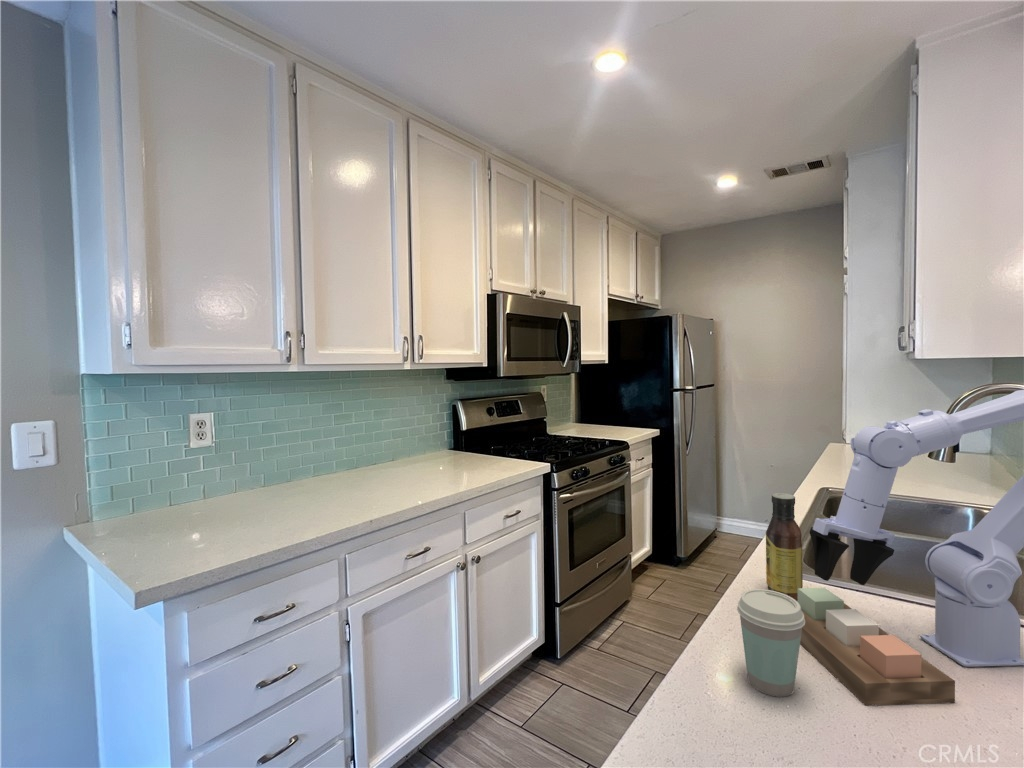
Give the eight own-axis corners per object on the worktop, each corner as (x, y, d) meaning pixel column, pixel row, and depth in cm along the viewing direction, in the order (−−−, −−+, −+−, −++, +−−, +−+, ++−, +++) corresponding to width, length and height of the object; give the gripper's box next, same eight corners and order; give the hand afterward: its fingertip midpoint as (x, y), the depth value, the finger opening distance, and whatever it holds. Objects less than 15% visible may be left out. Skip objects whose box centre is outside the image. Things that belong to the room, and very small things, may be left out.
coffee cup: (815, 707, 64) (815, 618, 64) (746, 700, 66) (746, 613, 65) (792, 667, 72) (791, 589, 72) (731, 662, 74) (730, 585, 74)
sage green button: (824, 609, 85) (824, 587, 85) (843, 624, 80) (843, 600, 80) (797, 610, 85) (797, 588, 85) (815, 625, 80) (815, 601, 80)
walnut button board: (840, 617, 86) (840, 600, 86) (954, 702, 64) (955, 680, 64) (774, 619, 86) (773, 602, 86) (865, 705, 64) (865, 683, 64)
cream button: (855, 633, 78) (855, 608, 78) (878, 651, 73) (878, 624, 73) (825, 634, 78) (825, 609, 77) (846, 651, 73) (847, 625, 73)
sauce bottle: (773, 584, 100) (772, 488, 99) (807, 594, 95) (807, 494, 94) (760, 594, 95) (760, 495, 95) (795, 605, 91) (795, 501, 90)
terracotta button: (892, 661, 70) (892, 634, 70) (921, 683, 65) (921, 654, 65) (860, 662, 70) (860, 635, 70) (885, 684, 65) (886, 655, 65)
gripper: (873, 497, 83) (850, 571, 84) (807, 485, 79) (784, 562, 81) (916, 514, 76) (890, 594, 78) (846, 501, 73) (820, 585, 74)
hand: (839, 579), depth 79 cm, fingers open, 7 cm apart
